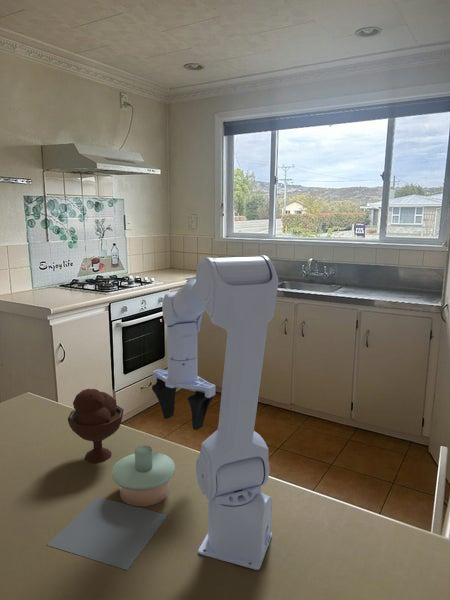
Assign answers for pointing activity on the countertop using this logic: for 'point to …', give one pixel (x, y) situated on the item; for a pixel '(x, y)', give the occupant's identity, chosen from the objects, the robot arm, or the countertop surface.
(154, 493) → the dish
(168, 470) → the lid
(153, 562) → the countertop surface
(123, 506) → the placemat
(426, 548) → the countertop surface
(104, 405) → the ice cream bowl
